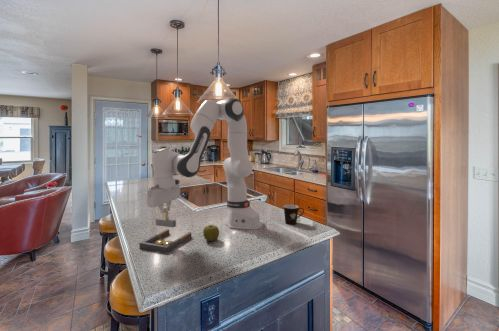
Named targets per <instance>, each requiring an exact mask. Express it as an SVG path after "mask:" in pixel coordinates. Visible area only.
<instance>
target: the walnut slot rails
mask: <svg viewBox="0 0 499 331" xmlns="http://www.w3.org/2000/svg"><path fill="white" fill-rule="evenodd" d="M169 235H170V229H169V228H166V229H165V230H163V231H160V232H158V233H156V234H155V236H157V240H161V239H163V238H164V237H166V236H169ZM189 238H190V239H191V238H192V232H190V231H189V232H187V233H185V234H184V235H181V236H180V237H178V238H177V239H180V245H182V244H183V243H185V242H186V241H188V240H189Z"/></svg>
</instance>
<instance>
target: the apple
mask: <svg viewBox="0 0 499 331" xmlns="http://www.w3.org/2000/svg"><path fill="white" fill-rule="evenodd" d="M202 234H203V235H202V236H203V237H204V239H205V240H206V241H209V242H216V241H217V240H218V239H219V236H220V230H219V227H218V226H217V225H214V224H210V225H209V224H208V225H206V226H205V227H203V232H202Z"/></svg>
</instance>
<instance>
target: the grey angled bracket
mask: <svg viewBox="0 0 499 331" xmlns="http://www.w3.org/2000/svg"><path fill="white" fill-rule="evenodd" d="M155 235H156V234H155ZM155 235H152V236H150V237H149V238H146V239H144V240H142V241H140V242H139V249H142V250H147V249H148V250H147V251H152V250H153V252H158V251H159V253H164V254H168V253H169V252H171V251H172V250H175V248H177V247H178V245H179V246H180V245H181V244H180V239H178V238H177V239H175V240H172V241H173V242H171V243H170V244H168V245H166V246H164V245H158V244H155V241H157V236H155Z"/></svg>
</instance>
